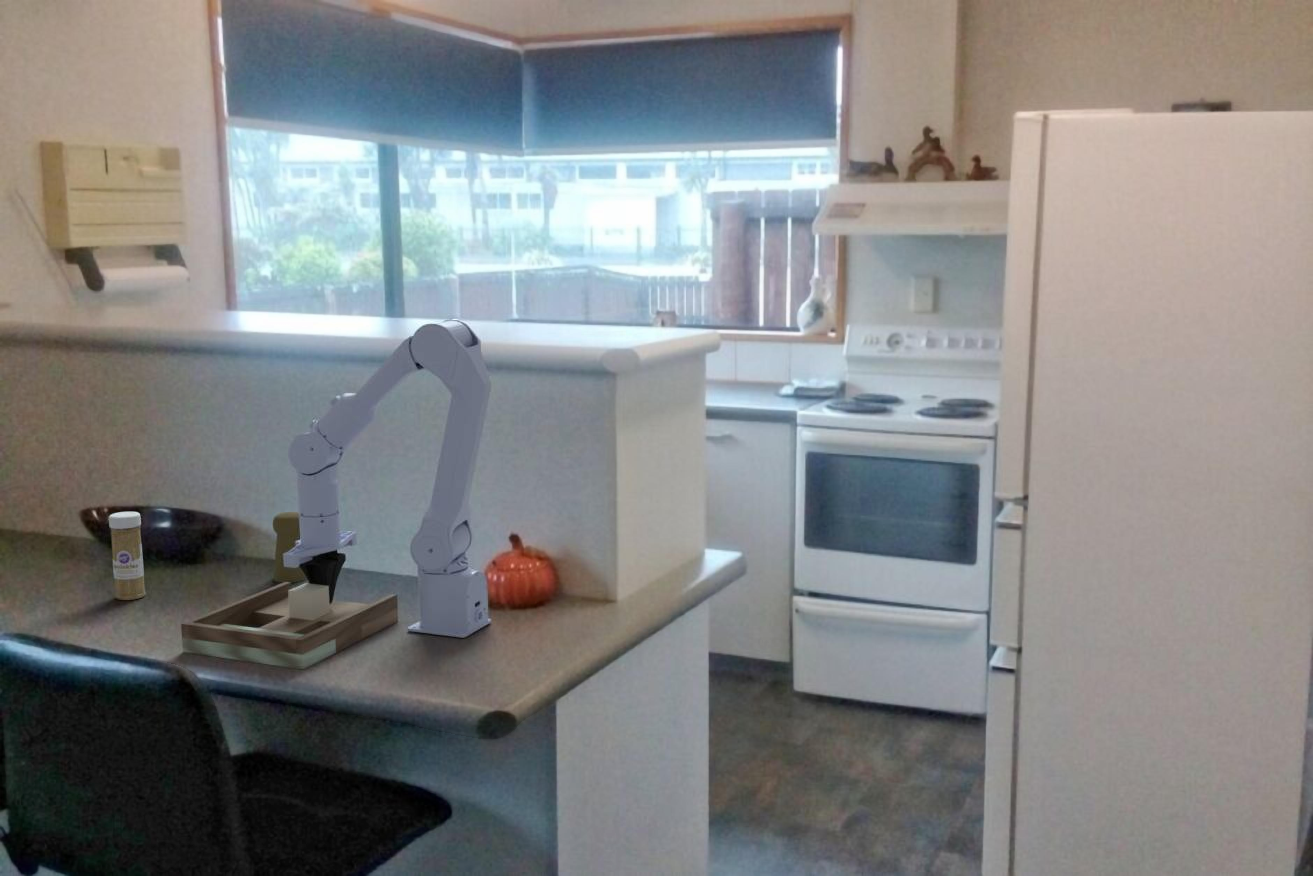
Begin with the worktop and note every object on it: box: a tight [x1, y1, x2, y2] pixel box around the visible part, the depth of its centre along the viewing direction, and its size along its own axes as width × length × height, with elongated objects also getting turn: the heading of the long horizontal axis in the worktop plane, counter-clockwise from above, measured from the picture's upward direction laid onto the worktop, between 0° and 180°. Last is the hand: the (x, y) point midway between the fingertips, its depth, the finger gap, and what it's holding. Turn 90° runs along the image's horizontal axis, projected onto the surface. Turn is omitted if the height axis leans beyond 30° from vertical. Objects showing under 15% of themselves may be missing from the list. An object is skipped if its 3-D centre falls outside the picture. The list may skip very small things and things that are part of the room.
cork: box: [272, 511, 308, 584], centre depth 205 cm, size 6×6×11 cm
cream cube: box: [288, 582, 330, 620], centre depth 178 cm, size 4×4×4 cm
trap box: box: [180, 582, 399, 670], centre depth 175 cm, size 20×22×4 cm
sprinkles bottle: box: [108, 511, 147, 601], centre depth 194 cm, size 5×5×13 cm
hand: (324, 603), depth 181 cm, fingers closed
